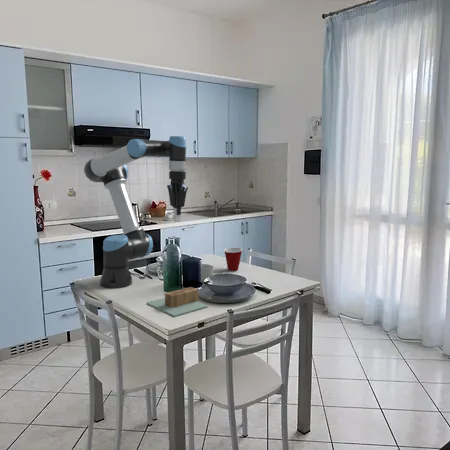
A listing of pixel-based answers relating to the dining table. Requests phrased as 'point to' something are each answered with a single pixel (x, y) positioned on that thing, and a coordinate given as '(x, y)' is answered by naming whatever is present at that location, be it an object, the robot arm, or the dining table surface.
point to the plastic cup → (233, 258)
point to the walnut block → (181, 297)
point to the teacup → (206, 271)
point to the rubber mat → (176, 310)
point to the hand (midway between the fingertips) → (177, 221)
